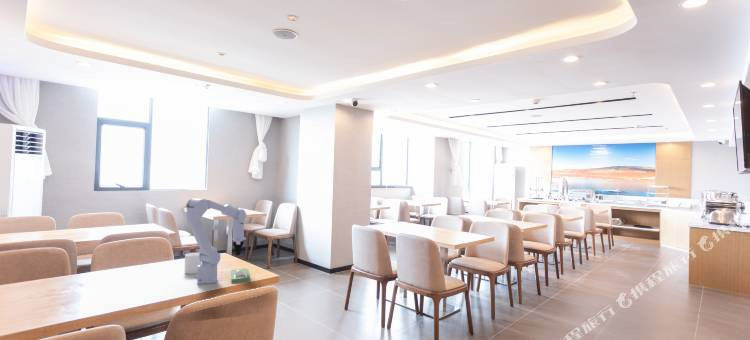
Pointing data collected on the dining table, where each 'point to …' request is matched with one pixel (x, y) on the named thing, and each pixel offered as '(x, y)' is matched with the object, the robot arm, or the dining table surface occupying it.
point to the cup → (192, 263)
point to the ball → (238, 273)
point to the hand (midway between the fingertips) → (238, 254)
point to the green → (242, 278)
